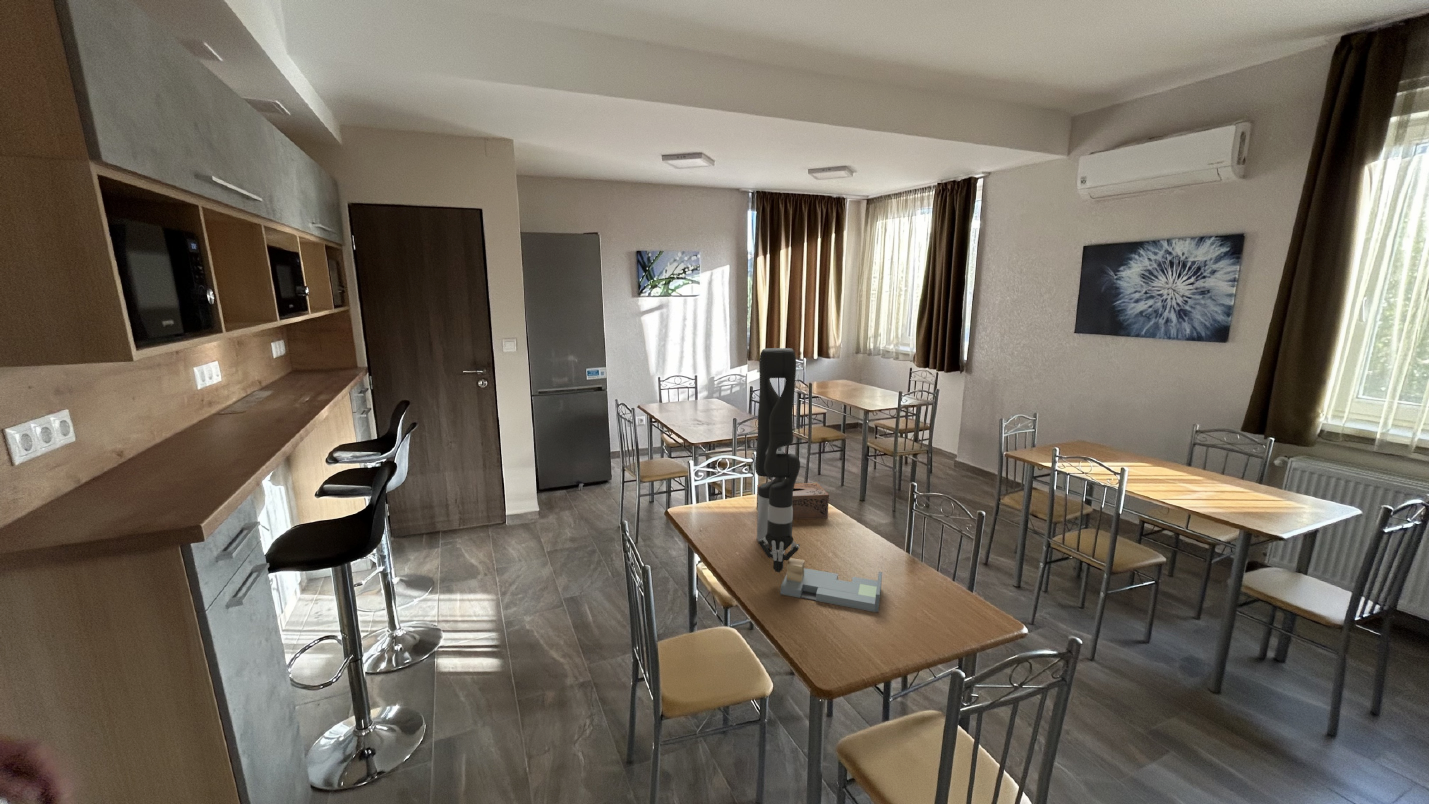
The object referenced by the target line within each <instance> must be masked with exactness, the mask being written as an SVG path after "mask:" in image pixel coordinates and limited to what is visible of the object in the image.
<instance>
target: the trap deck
mask: <svg viewBox="0 0 1429 804" xmlns="http://www.w3.org/2000/svg"><path fill="white" fill-rule="evenodd" d="M882 580H883V571H878V575H877V580H876V579H869V578H864V577H859V576H858V577H857V576H852V579H851V581H848V580H842V579H839V573H835V572H829V571H824V570H819V569H818V570H817V569H811V568H806V567H804V577H803V579H802V582H797V581H792V580H787V573H786V575H785V576H784V578H783V580H782V583H781V585H780V590H779V591H780V595H784V596H787V597H794V598H799V599H805V600H810V601H814V602H821V603H826V604H832V605H837V606H841V607H846V608H847V607H848V608H852V609H857V610H864V611H868V612H874V613H879V611H880V610H879V609H880V600H881V591H882V582H883V581H882Z"/></svg>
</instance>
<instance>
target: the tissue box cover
mask: <svg viewBox="0 0 1429 804" xmlns="http://www.w3.org/2000/svg"><path fill="white" fill-rule="evenodd" d="M760 485H761V484H757V489H756V509H757V510H758V489H759V486H760ZM829 499H830V494H829V493H828V492H827V491H826V490H825V489H824V488H823V487H822V486H821V485H820V484H819V483H818V482H808V483H807V482H805V483H803V482H802V483H800V482H799V483H795V485H794V489H793V501H792V508H793V520H811V519H814V520H815V519H828V516H829V502H830V501H829Z"/></svg>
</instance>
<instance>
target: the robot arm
mask: <svg viewBox="0 0 1429 804" xmlns="http://www.w3.org/2000/svg"><path fill="white" fill-rule="evenodd" d="M796 356H797V355H796V352H795V350H794V349H793V348H791V347H790V348H789V347H787V348H786V347H785V348H784V347H781V348H780V347H779V348H777V347H775V348H773V347H772V348H771V347H770V348H768V347H767V348H764V349H762V350H761V351H760V353H759V370H758V371H759V398H758V408H757V409H758V410H757V411H758V412H757V441H756V442H757V443H756V450H755V451H756V452H755V456H754V458H755V459H754V468H755V473H756V475H757V476H759V477H765V478H773V479H771V480H769V481H768V482H765V483H762V484H759V485H760V486H759V489H758V509H757V519H756V520H757V526H756V527H757V528H756V540H757V542H758V545H759V546H760V547H761V550H762V551H763V552H764V553H765V555H766V556H767V558H769V559H771V560H773V566H772V568H773V570H774V572H775V573H781V571H783V569H784V563H785V562H784V561H787V562H788V561H789V559H790V558H792V557H793V555H795V554H796V553H797V552H798V551H799V549H800V546H801V545H800V543H796V542H795V541H794V537H793V521H794V519H793V508H792V501H793V489H794V485H795V484H796V480H797V479H798V476H799V473H800V469H801V461H800V458H799V457H798V455H796V454H795V453H786V452H784V451H782V450H778V449H780V448H784V447H788V446H791V445H792V444H793V442H794V430H793V429H794V426H793V425H794V422H793V421H794V420H793V418H794V417H793V414H794V412H793V410H794V401H795V392H796V391H795V389H796V376H797V357H796ZM771 379H784V387H783V390H782V392H781V394H780V395H779V394H778V393H777V391H776V390H775V388H774V386H773V385H772V382H771ZM789 547H790V550H789V551H788V552H787V553H785V552H786V550H788V548H789Z"/></svg>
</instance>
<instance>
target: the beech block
mask: <svg viewBox="0 0 1429 804" xmlns="http://www.w3.org/2000/svg"><path fill="white" fill-rule="evenodd" d="M805 561H806V560H805V559H800V558H799V559H797V558H793V557H790V558H789V559H788V560H787V564H786V574H787V580H792V581H797V582H802V579H803V577H804V568H805V566H806V565H805Z"/></svg>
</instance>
